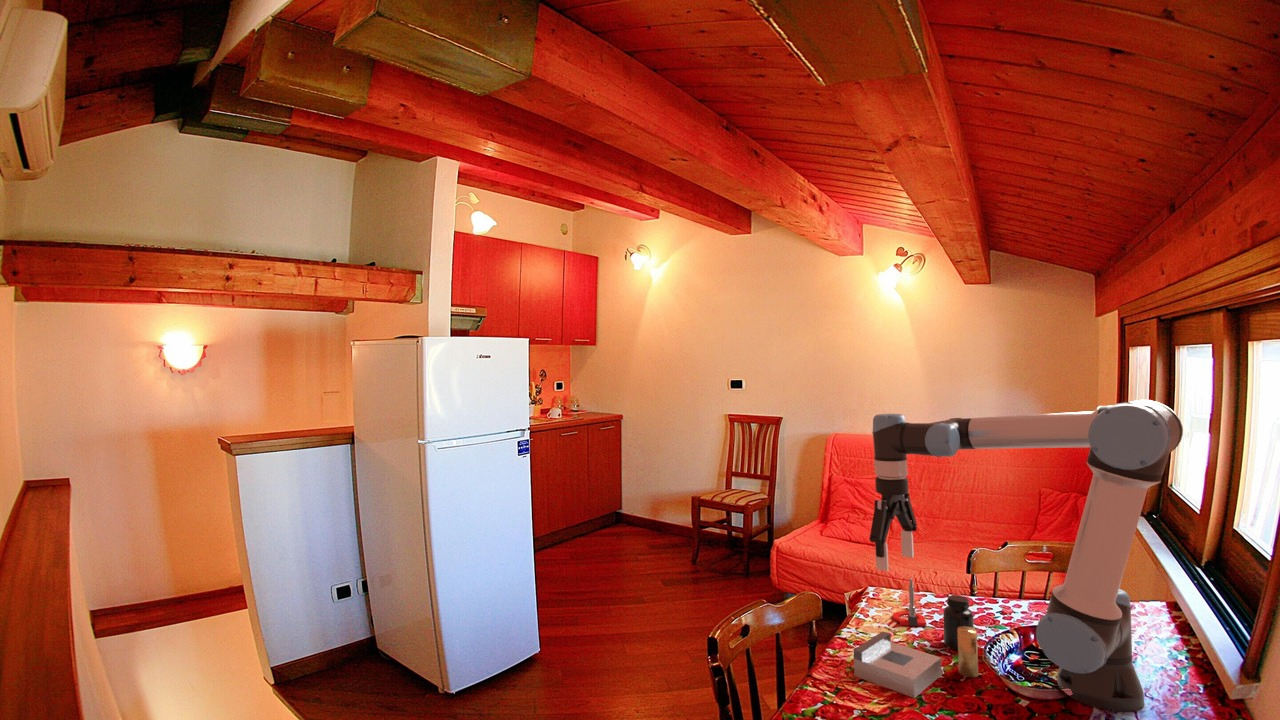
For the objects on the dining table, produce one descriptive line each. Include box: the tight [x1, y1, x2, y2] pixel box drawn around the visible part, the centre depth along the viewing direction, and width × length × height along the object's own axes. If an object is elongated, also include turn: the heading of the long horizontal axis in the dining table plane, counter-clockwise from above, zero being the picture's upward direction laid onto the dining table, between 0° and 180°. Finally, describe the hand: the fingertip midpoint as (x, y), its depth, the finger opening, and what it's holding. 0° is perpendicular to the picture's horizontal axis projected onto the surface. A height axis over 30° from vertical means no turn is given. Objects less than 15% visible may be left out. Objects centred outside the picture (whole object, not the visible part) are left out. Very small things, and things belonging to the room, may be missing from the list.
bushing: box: [957, 626, 979, 679], centre depth 148 cm, size 4×4×10 cm
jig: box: [853, 630, 943, 699], centre depth 148 cm, size 14×14×6 cm
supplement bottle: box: [943, 594, 975, 651], centre depth 162 cm, size 7×7×12 cm
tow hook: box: [891, 577, 927, 627], centre depth 179 cm, size 8×13×9 cm
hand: (895, 563), depth 158 cm, fingers open, 13 cm apart
